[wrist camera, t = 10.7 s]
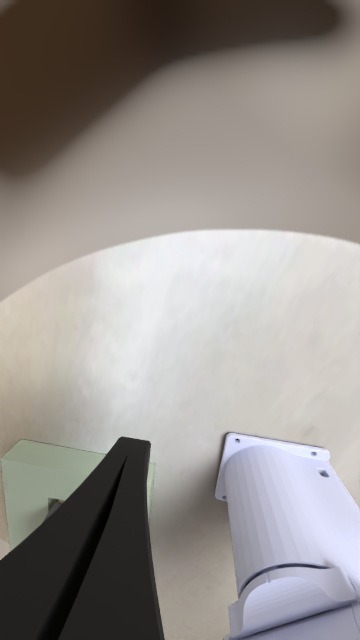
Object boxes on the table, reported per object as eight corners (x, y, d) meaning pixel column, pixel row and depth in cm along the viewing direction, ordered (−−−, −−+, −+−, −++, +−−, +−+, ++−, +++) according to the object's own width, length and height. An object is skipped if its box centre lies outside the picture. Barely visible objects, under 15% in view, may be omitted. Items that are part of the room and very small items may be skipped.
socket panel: (155, 463, 22) (148, 495, 19) (146, 550, 25) (138, 589, 22) (21, 439, 23) (-7, 465, 20) (27, 525, 26) (4, 560, 23)
